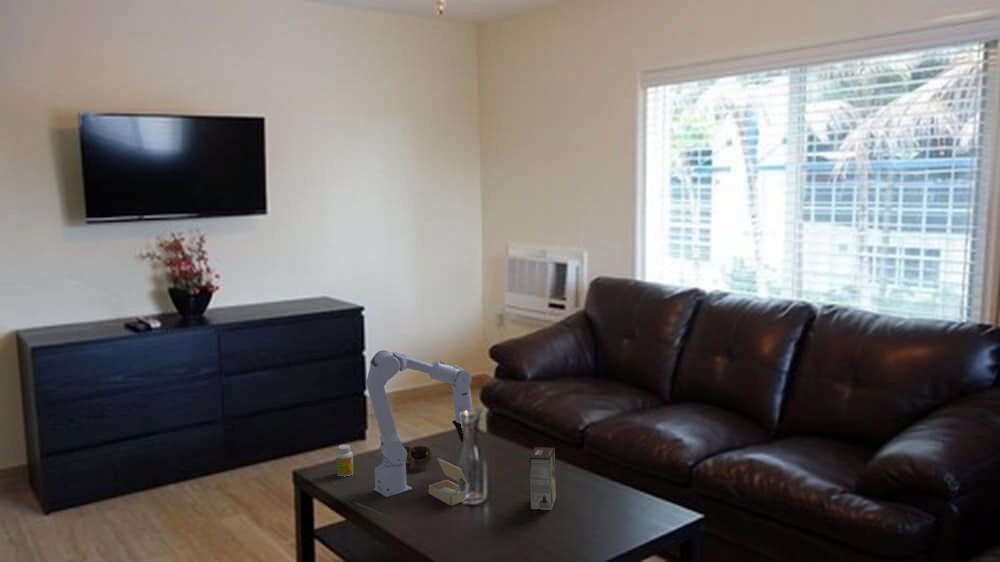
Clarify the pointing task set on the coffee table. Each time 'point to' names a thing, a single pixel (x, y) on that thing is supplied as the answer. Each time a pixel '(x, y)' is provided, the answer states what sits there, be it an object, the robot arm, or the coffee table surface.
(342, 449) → the supplement bottle
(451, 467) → the lid
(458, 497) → the mailer box
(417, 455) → the pottery mug
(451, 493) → the soap
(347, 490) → the coffee table surface
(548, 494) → the coffee box
